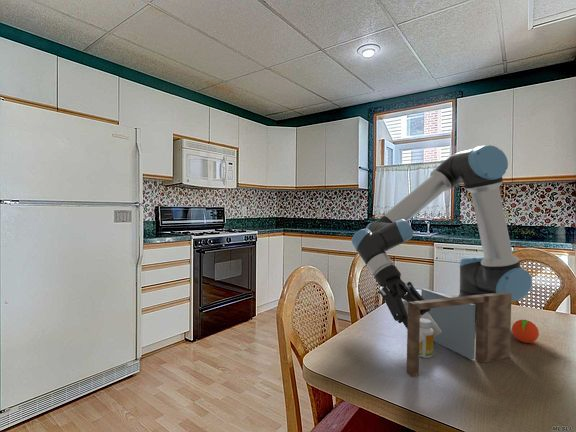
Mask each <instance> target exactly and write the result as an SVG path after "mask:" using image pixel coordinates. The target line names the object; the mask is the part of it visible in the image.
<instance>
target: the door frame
mask: <svg viewBox="0 0 576 432" xmlns="http://www.w3.org/2000/svg"><path fill="white" fill-rule="evenodd" d="M511 295H512V294H510V293H506V292H501V293H491V294H481V295H471V296H462V297H458V296H454V297H453V296H451V297H452V298H442V299H432V300H422V301H413V302H408V326H407V328H406V330H407V332H406V333H407V334H406V337H407V338H406V371H405V372H406V374H407V375H408V376H409V377H412V378H413V377H418V376H419V372H420V369H419V366H420V357H419V334H420V309H429V308H438V307H447V306H455V305H464V304H473V303H477V316H476V320H475V352H474V360H475V361H476V362H479V363H481V364H484V363H488V362H493V361H498V360H503V359H504V360H505V359H508V358H510V356H511V331H512V325H511V323H512V301H511Z"/></svg>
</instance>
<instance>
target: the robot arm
mask: <svg viewBox="0 0 576 432" xmlns="http://www.w3.org/2000/svg"><path fill="white" fill-rule="evenodd" d="M508 167H509V160H508V157H507V155H506V154H505V152H504V151H503V150H502V149H501V148H499V147H497V146H495V145H491V144H489V145H488V144H487V145H479V146H476V147H473V148H470V149H466V150H462V151H458V152H456V153H454V154H453V155H451V156H449V157H448V158H446V159H445V160H444V161H443V162H442V163H440V164H439V165H438V166H436V168H435V169H433V170H432V171H431V172H430V173H429V174H430V175H429V177H428V178H427V179H425V180H424V181H423V182H422V183H421V184H420V185H418V186H417V187H415V189H414V190H412V191H411V192H409V194H408V195H406V196H405V197H404V198H403V199H401V200H400V201H399V202H398V203H397V204H395V205H394V206H392V208H391V209H389V210H388V211H387V212H386V213H384V214H383V215H382V216H381V217H380V218H378V219H377V220H376V221H372V222H370V223H368V224H367V225H366V227H365V228H362V229H359V230H358V231H356V232H355V233H354V234H353V235H352V238H351V244H352V245H353V247H354V249H355V251H356V252H357V254H358V255H359V257H360V258H361V259H362V261H363V262H364V263H365V265H366V266H367V268H368V270H369V271H370V273H371V274H372V276H373V277H374V280H375V281H376V282H377V284H378V285H379V287H381V289H380V290H378V294H379V295H381V298H383V300H384V302H385V304H386V306H387V308H388V310H389V311H390V314H391V316H392V319H394V321H395V322H398V323H399V324H402V323H403V325H404V327H405V328H406V329H407V326H408V315H407V312H406V310H405V307H404V304H403V301H404V300H406V301H407V302H413V301H422V300H424V299H423V298H422V296H421V294H420V292H419V291H417V289H416V288H415V287H414V284H413V283H412V282H411V281H408V282H407V283H406V282H405V281H403V280H402V279H401V277H402V274H401V272H400V271H399V268H398V267H397V266H396V265H395V264H394V262H393V261H392V259H391V257H389V255H388V253H386V252H387V251H389V250H391V249H393V248H395V247H397V246H399V245H402V244H403V243H406V242H407V241H409V240H411V239H412V238H413V237H414V231H413V229H412V226H411V224H410V223H409V221H410V220H411V219H413V218H414V217H415V216H416V215H417V214H418V213H420V212H421V211H423V209H424V208H425V207H427V206H428V205H429V204H430V203H432V202H433V201H434V200H435V199H436V198H438V197H439V196H440V195H441V194H442V193H443V192H448V191H450V190H451V189H453V188H454V187H456V186H458V185H460V184H463V185H464V190H465V191H467V192H469V193H470V195H471V201H472V204H473V209H474V215H475V219H476V224H477V229H478V233H479V238H480V243H481V247H482V248H481V249H482V252H483V257H473V256H472V257H470V256H469V257H467V256H465V257H462V258H461V259H460V264H459V294H458V296H457V297H462V296H471V295H481V294H491V293H501V292H506V293H510V294H512V295H511V302H516V301H520V300H522V299H524V298H525V297H526V296H527V295H528V293H529V292H530V291H531V289H532V285H533V279H532V275H531V274H530V272H529V271H527V270H526V268H525V269H524V268H522V267H521V266H522V265H521V261H520V258H519V257H518V256H516V255H514V254H513V250H512V249H513V248H512V244H511V240H510V234H509V229H508V225H507V220H506V216H505V214H506V213H505V211H504V206H503V202H502V201H503V199H502V195H501V192H500V191H501V190H500V186H501V185H502V184H503V183H504V180H503V176H505V174H506V172H507V170H508ZM473 304H475V305H476V307H475V321H476V316H477V303H473ZM430 310H431V309H430V308H429V309H420V314H421V315H422V316H421V318H424V319H428V320H430V321H431V327H430V328H432V329H433V331H434V337H436V336H437V335H439V334H440V333H442V331H441V329H440V328H439V327H438V325H437V324H436V322H435V321H434V319H433V318H432V316H431V315H430V314H429V312H428V311H430ZM424 339H425V337H424V336H423V334H422V333H421V331H420V334H419V343H420V342H421V341H422V340H424Z"/></svg>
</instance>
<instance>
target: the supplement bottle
mask: <svg viewBox="0 0 576 432" xmlns="http://www.w3.org/2000/svg"><path fill="white" fill-rule="evenodd" d="M430 327H431V321H430V320H428V319H424V318H420V331H421V333H422V334H423V336H424V337H425V339H424V340H422V341H421V342H420V343H419V358H425V359H426V358H427V359H428V358H429V359H430V358H432V357H434V342H435V341H434V331H433V329H432V328H430Z"/></svg>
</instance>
